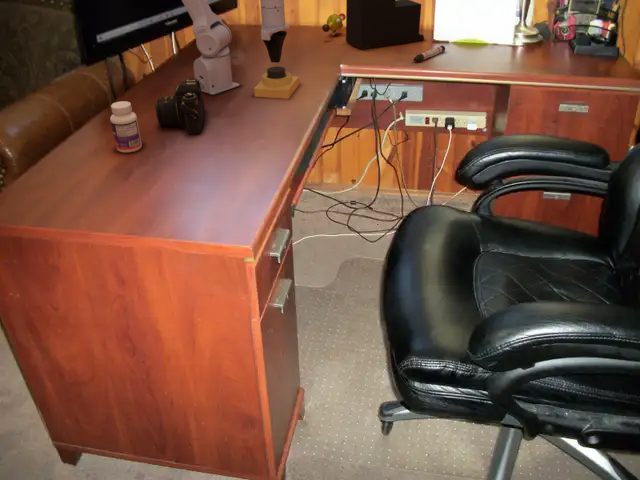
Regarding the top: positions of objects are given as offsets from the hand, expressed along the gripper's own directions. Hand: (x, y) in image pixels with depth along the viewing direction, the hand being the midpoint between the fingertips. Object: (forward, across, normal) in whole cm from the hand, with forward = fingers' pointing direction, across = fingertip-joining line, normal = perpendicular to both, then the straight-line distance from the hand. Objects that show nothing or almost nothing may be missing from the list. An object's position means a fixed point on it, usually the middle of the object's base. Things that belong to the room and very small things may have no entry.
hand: (275, 61), depth 158 cm
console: (+8, 0, 0) cm, 8 cm away
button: (+4, 0, 0) cm, 4 cm away
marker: (+8, +36, -36) cm, 52 cm away
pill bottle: (+8, -41, +21) cm, 47 cm away
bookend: (+8, +51, -22) cm, 56 cm away
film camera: (+8, -26, +15) cm, 31 cm away
